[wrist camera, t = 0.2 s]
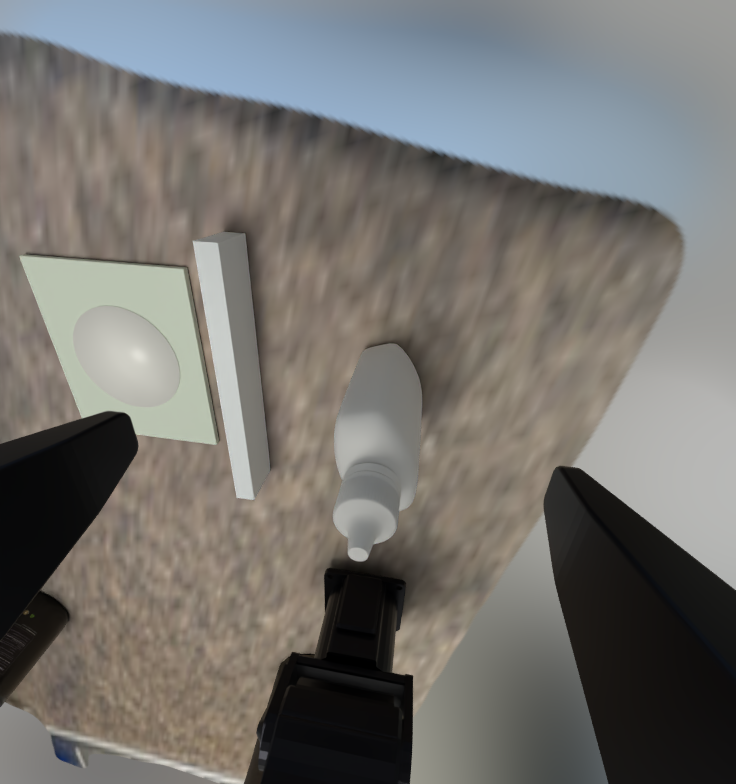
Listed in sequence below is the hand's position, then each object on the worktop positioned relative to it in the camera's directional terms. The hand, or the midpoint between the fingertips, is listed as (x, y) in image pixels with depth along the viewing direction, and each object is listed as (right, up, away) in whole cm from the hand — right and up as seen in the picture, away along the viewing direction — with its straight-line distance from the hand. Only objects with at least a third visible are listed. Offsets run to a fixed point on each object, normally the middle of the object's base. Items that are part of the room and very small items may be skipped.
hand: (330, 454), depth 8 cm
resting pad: (-14, +4, +17) cm, 23 cm away
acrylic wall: (-6, +3, +16) cm, 18 cm away
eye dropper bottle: (+2, +2, +15) cm, 16 cm away
